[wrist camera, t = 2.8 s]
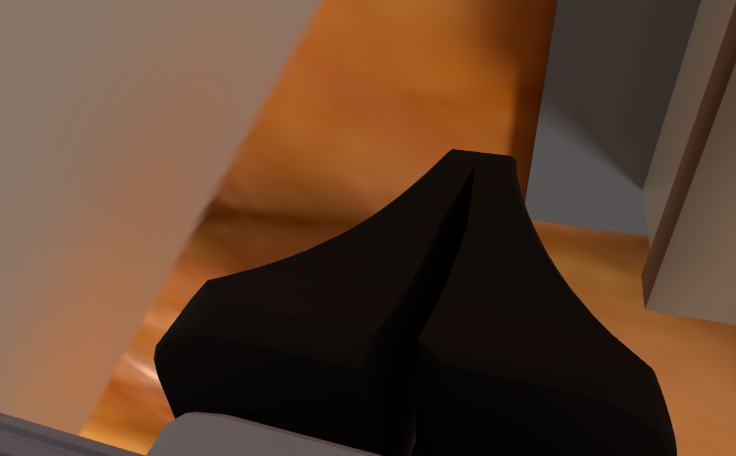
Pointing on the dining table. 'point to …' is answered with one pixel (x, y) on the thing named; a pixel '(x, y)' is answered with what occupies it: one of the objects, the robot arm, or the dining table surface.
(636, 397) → the robot arm
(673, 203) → the lid
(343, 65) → the dining table surface
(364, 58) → the dining table surface
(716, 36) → the open grey box
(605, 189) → the board
